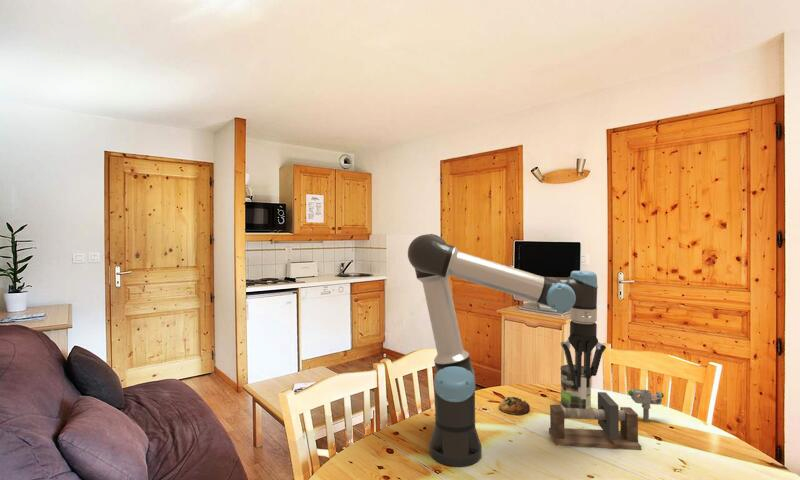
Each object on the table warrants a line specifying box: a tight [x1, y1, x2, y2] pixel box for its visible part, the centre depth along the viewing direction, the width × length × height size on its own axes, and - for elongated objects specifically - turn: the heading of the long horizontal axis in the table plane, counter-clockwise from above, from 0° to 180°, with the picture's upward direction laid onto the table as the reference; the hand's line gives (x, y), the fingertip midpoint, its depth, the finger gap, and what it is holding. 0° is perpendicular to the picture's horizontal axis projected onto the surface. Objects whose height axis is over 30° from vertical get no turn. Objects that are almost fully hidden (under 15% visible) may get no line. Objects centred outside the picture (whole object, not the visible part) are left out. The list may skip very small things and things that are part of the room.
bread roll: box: [498, 396, 531, 416], centre depth 149 cm, size 11×11×5 cm
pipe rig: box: [548, 404, 642, 451], centre depth 126 cm, size 24×9×10 cm, turn 83°
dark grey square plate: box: [597, 391, 620, 439], centre depth 125 cm, size 2×10×10 cm, turn 173°
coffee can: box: [560, 364, 592, 409], centre depth 149 cm, size 10×10×14 cm
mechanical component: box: [628, 388, 665, 423], centre depth 138 cm, size 3×10×10 cm, turn 79°
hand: (582, 397), depth 127 cm, fingers closed
